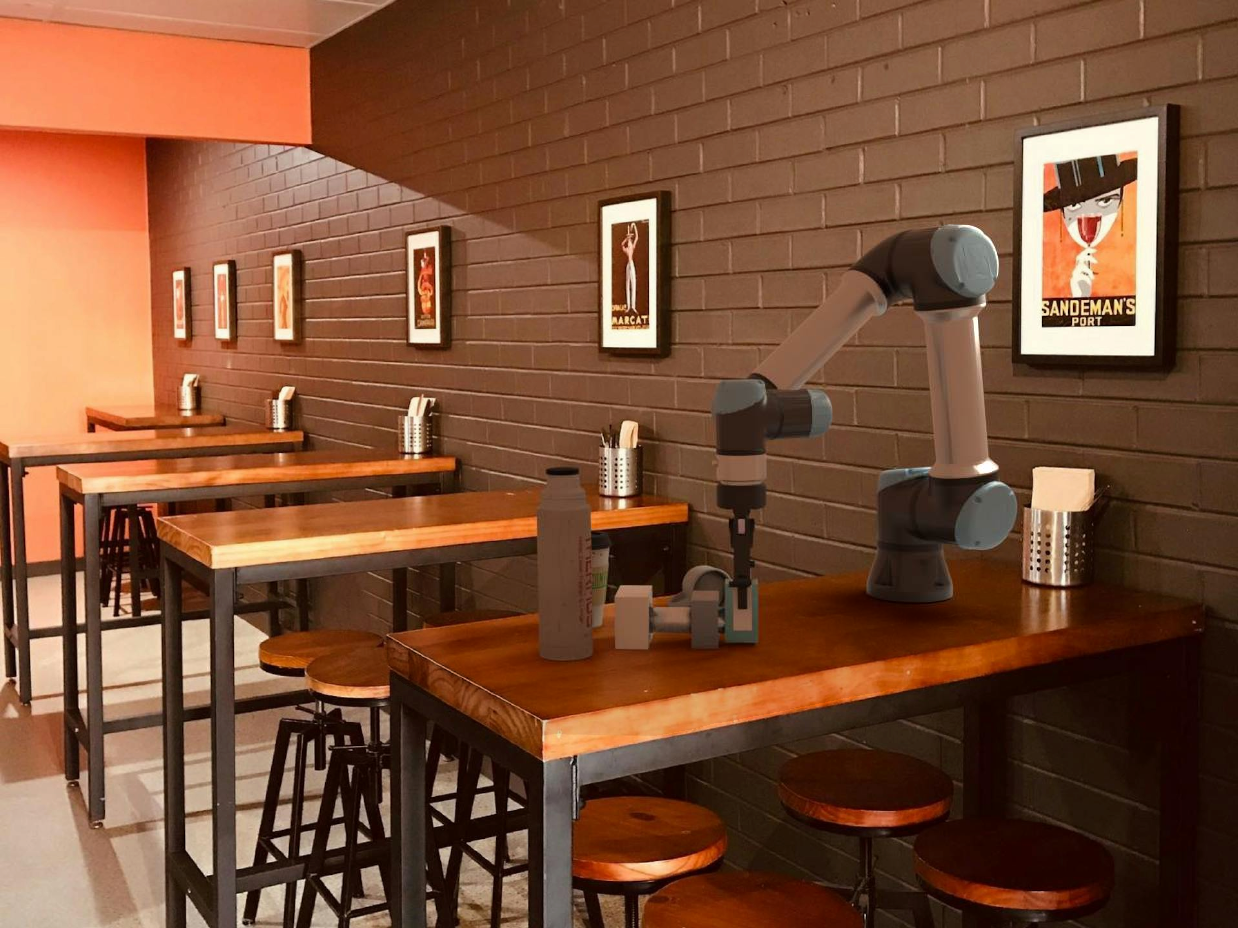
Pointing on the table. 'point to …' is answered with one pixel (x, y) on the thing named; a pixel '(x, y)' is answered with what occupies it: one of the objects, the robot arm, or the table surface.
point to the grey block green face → (681, 618)
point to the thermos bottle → (564, 568)
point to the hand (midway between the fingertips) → (742, 619)
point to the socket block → (632, 617)
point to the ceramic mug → (700, 585)
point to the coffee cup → (599, 573)
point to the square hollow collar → (704, 619)
